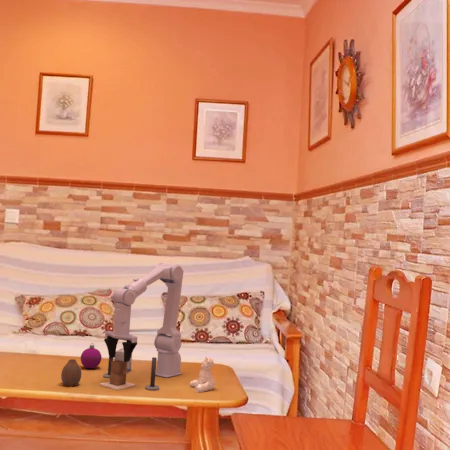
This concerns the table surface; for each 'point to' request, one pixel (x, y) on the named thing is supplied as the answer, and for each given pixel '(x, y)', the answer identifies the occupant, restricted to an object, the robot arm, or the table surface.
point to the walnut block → (118, 372)
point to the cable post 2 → (152, 377)
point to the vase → (71, 373)
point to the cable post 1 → (107, 375)
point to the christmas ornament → (91, 357)
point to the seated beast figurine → (204, 377)
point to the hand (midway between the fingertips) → (119, 359)
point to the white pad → (107, 384)
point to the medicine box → (120, 356)
